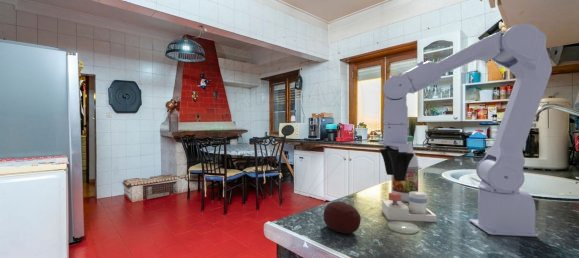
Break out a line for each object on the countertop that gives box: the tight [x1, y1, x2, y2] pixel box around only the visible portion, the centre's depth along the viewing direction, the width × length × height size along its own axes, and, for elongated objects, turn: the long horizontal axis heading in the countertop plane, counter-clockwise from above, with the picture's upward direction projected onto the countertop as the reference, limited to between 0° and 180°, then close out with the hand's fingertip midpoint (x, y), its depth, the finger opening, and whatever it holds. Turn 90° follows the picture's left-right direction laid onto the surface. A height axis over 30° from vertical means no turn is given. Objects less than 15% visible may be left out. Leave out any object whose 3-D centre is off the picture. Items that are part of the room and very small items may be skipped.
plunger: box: [388, 192, 402, 205], centre depth 67 cm, size 3×3×4 cm
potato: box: [322, 200, 362, 234], centre depth 58 cm, size 7×10×6 cm
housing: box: [381, 199, 437, 223], centre depth 66 cm, size 11×6×3 cm, turn 83°
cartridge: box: [408, 191, 428, 214], centre depth 66 cm, size 4×4×6 cm
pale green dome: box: [387, 220, 420, 235], centre depth 59 cm, size 6×6×1 cm
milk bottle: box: [390, 135, 419, 203], centre depth 81 cm, size 8×8×20 cm
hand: (395, 177), depth 67 cm, fingers open, 7 cm apart
